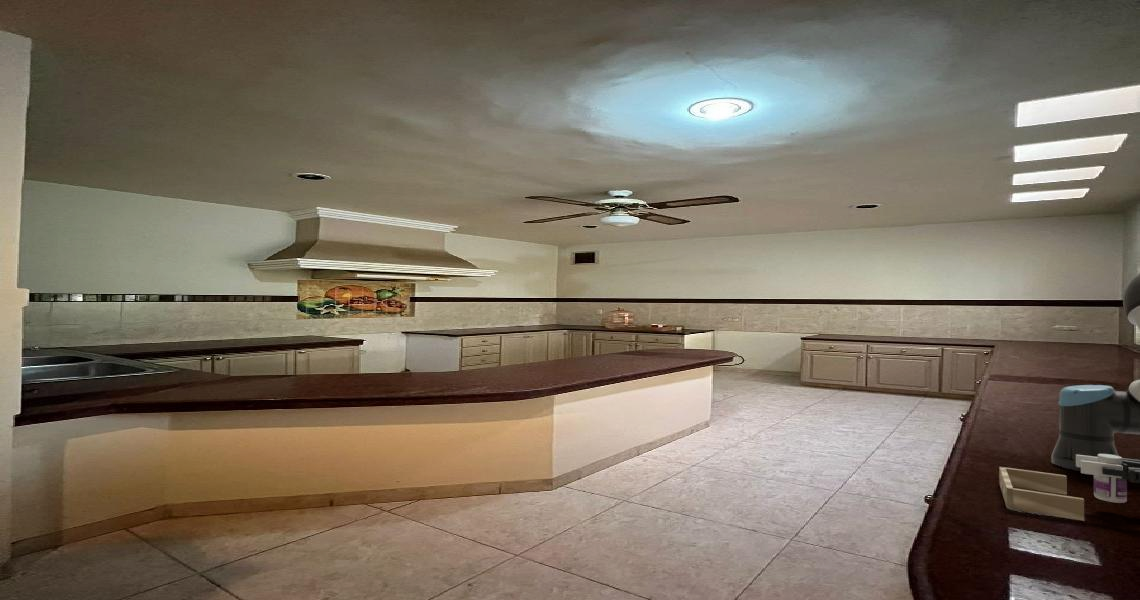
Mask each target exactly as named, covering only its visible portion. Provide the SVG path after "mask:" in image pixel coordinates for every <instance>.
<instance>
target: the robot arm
mask: <svg viewBox="0 0 1140 600" xmlns="http://www.w3.org/2000/svg"><path fill="white" fill-rule="evenodd" d="M1122 304H1123V305H1122V306H1123V311H1124V313H1125V316H1126V318H1127V320H1128V321H1129V323H1130V324H1132V325H1135V326H1137V328H1138V330H1139V331H1140V273H1139V274H1137V275H1136V276H1135V277H1133V279H1131V281H1130V282H1129V283H1128V285H1127V287H1126V289H1125V290H1124V294H1123V299H1122ZM1058 399H1059V400H1058V402H1057V403H1058V415H1059V416H1058V429H1059V430H1058V432H1059V433H1058V434H1059V435H1058V436H1059V437H1058V439H1057V442H1056V443H1055V447H1054V448H1053V450H1052V453H1051V463H1052V465H1054V464H1055V465H1054V466H1057V465H1058V466H1057V467H1060V466H1061V467H1060V468H1064V469H1068V470H1071V469H1072V470H1071V471H1077V472H1080V473H1081V474H1085V475H1092V476H1094V475H1099V476H1107V477H1114V478H1122V477H1123V479H1125V480H1127V481H1128V482H1130V483H1132V484H1133V483H1134V484H1135V483H1136V484H1140V459H1134V458H1133V459H1132V458H1126V457H1122V464H1121V465H1116V464H1107V463H1099V461H1098V460H1097V457H1098V454H1110V455H1116V456H1120V455H1119V453H1118V451H1117V448H1116V445H1115V433H1116V434H1126V435H1127V434H1130V435H1140V379H1137V380H1134V381H1132V382H1131V383H1130V385H1129V386H1128V388H1127V390H1126V391H1121V390H1120V391H1118V390H1115V389H1114V387H1113V386H1111V385H1103V384H1095V385H1094V384H1082V385H1081V384H1080V385H1079V384H1077V385H1071V386H1066V387H1063V388H1061V390H1059V397H1058ZM1122 466H1123V469H1122Z"/></svg>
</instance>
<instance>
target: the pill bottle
mask: <svg viewBox="0 0 1140 600" xmlns="http://www.w3.org/2000/svg"><path fill="white" fill-rule="evenodd" d="M1122 458H1123V457H1122V456H1120V455H1119V456H1116V455H1110V454H1098V457H1097V460H1098V461H1099V463H1107V464H1116V465H1121V464H1122ZM1122 469H1123V466H1122ZM1093 495H1094V497H1095V498H1096V499H1098V500H1100V501H1101V500H1102V501H1104V502H1105V501H1106V502H1110V503H1117V504H1121V503H1123V504H1125V503H1126V502H1127V501H1128V480H1125V479H1123V477H1122V478H1114V477H1107V476H1099V475H1093Z"/></svg>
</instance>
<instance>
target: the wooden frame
mask: <svg viewBox="0 0 1140 600" xmlns="http://www.w3.org/2000/svg"><path fill="white" fill-rule="evenodd" d="M998 477H999V480H998V481H999V487H1000V490H1001V494H1002V497H1003V500H1004V504H1005V507H1006V509H1010V510H1011V509H1012V510H1016V511H1021V512H1028V513H1036V514H1041V515H1047V516H1053V517H1059V518H1065V519H1071V520H1076V521H1077V520H1078V521H1083V522H1084V521H1085V499H1084V498H1083V497H1076V496H1070V495H1068V489H1067V488H1068V484H1067V483H1068V479H1067V478H1068V477H1067V475H1065V474H1059V473H1058V474H1057V473H1052V472H1051V473H1050V472H1042V471H1035V470H1028V469H1021V468H1020V469H1018V468H1013V467H1012V468H1011V467H1005V466H999V472H998Z"/></svg>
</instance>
